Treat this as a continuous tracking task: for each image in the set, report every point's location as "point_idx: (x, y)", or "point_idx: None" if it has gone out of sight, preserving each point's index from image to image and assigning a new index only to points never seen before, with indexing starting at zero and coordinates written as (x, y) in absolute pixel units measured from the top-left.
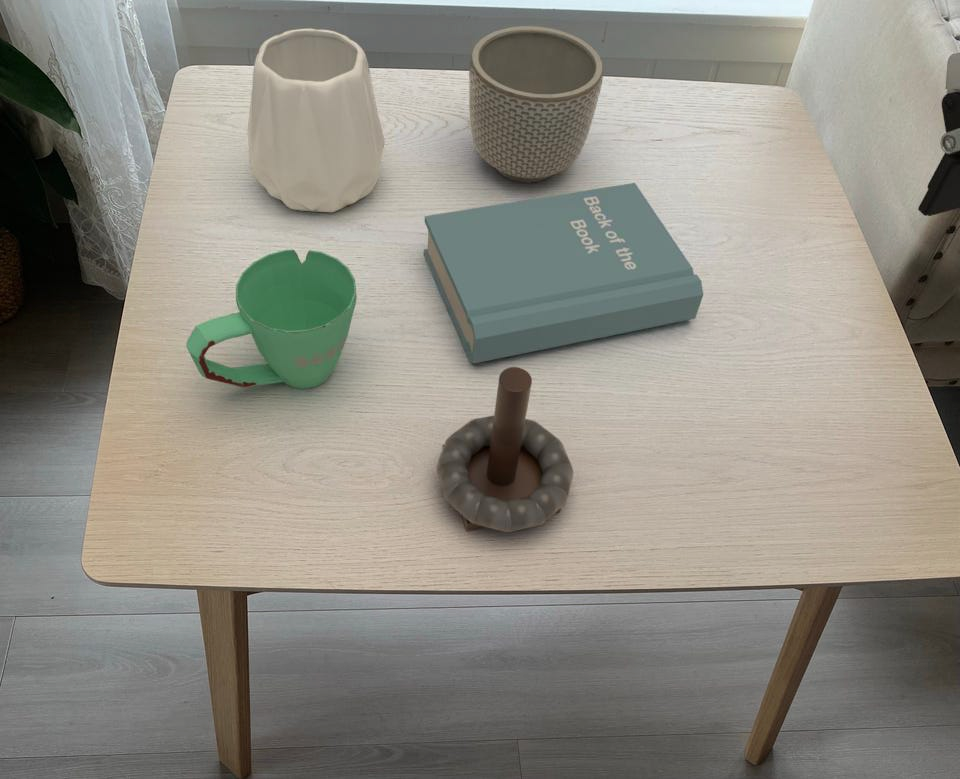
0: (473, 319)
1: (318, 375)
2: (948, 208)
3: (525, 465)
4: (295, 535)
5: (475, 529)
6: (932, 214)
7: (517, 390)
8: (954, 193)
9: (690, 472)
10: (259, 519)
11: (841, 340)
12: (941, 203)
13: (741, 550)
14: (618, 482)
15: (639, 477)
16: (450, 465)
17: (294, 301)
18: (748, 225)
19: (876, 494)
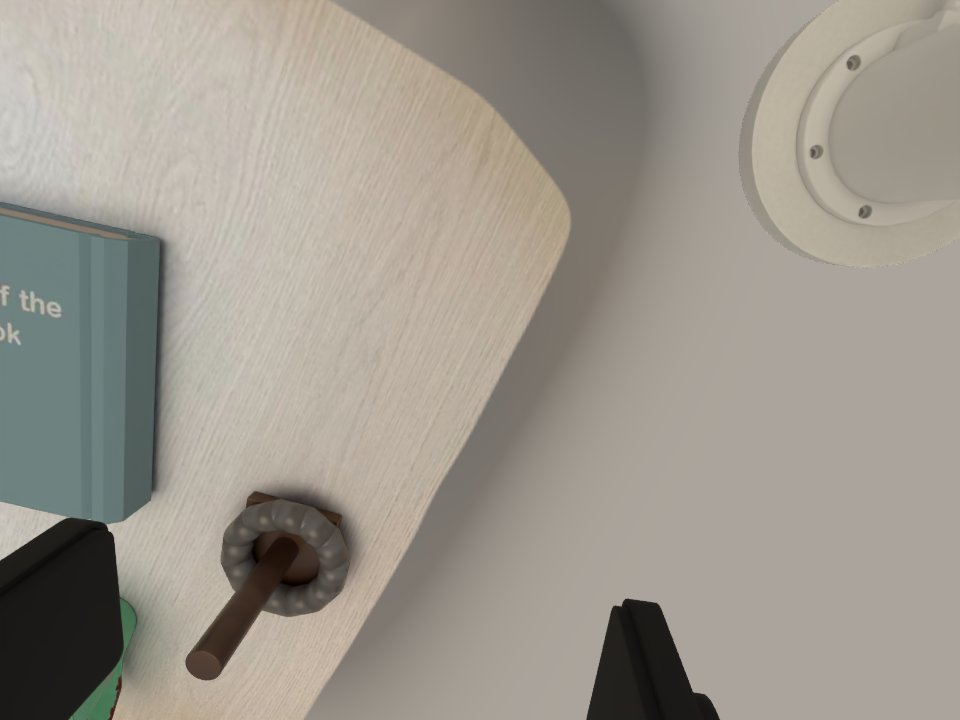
0: (95, 520)
1: (125, 637)
2: (109, 595)
3: None
4: (276, 686)
5: None
6: (120, 644)
7: (218, 672)
8: (51, 663)
9: (353, 383)
10: (253, 699)
11: (254, 61)
12: (85, 668)
13: (452, 398)
14: (334, 451)
15: (337, 430)
16: (263, 608)
17: None
18: (7, 16)
19: (467, 217)
